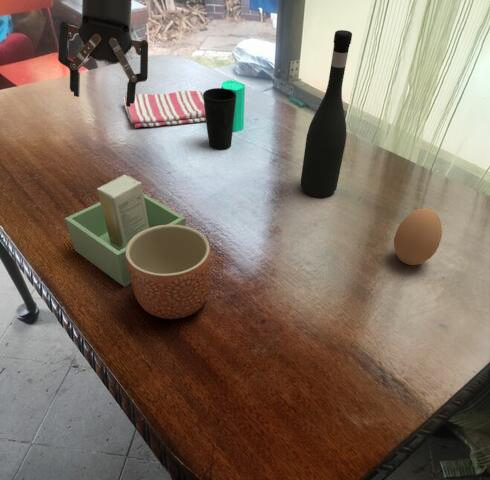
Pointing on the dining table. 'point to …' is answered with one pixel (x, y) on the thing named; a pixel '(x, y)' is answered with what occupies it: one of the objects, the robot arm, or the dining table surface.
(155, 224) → the green open box
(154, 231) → the planter
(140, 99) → the dish towel
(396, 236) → the egg
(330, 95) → the wine bottle
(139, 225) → the cosmetic box
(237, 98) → the candle
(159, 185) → the dining table surface
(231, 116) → the cup
